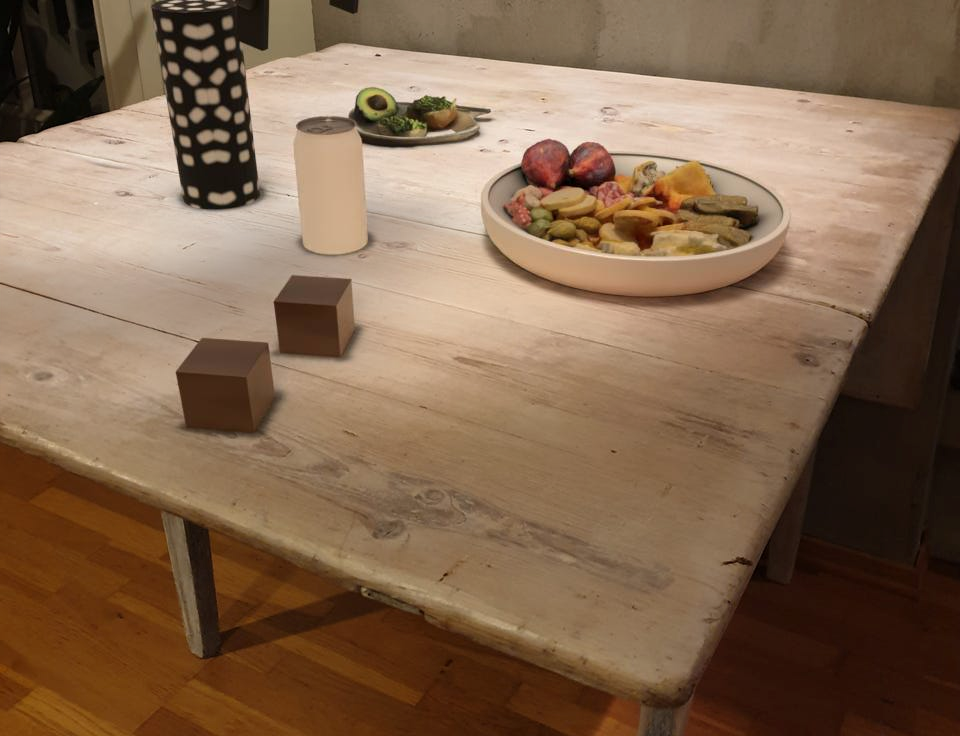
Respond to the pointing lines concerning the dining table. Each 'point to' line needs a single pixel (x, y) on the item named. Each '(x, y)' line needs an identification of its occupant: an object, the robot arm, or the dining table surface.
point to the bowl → (632, 220)
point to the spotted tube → (207, 101)
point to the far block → (315, 316)
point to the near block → (226, 385)
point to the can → (330, 185)
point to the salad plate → (411, 119)
